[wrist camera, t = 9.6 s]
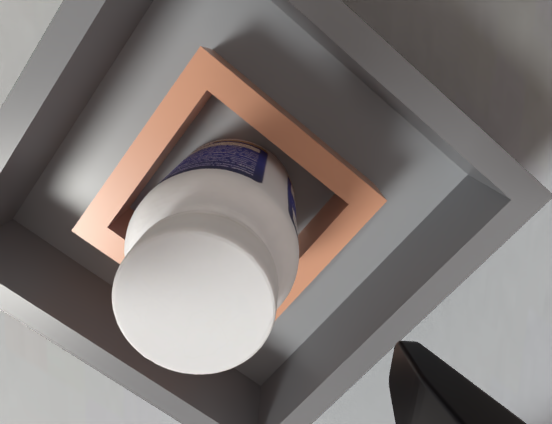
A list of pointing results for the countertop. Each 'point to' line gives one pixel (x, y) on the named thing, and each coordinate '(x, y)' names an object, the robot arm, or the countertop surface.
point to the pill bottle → (209, 259)
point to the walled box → (285, 147)
